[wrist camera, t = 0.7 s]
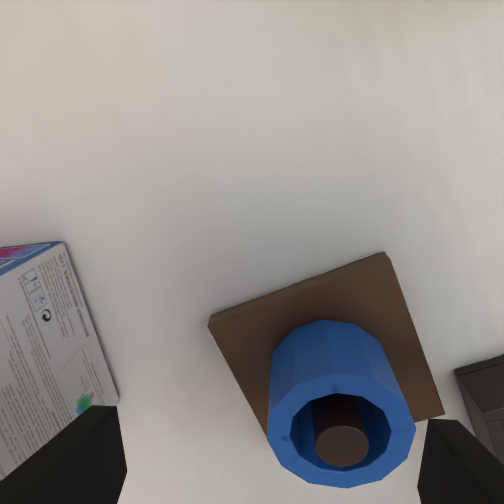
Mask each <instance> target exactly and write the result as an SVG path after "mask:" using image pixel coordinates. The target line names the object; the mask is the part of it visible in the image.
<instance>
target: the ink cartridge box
mask: <svg viewBox="0 0 504 504" xmlns="http://www.w3.org/2000/svg"><path fill="white" fill-rule="evenodd" d="M118 401H119V397H118V394H117V392H116V389H115V386H114V383H113V381H112V378H111V375H110V372H109V369H108V367H107V364H106V361H105V358H104V355H103V353H102V350H101V347H100V344H99V341H98V338H97V335H96V333H95V330H94V327H93V324H92V321H91V318H90V315H89V313H88V310H87V307H86V304H85V301H84V299H83V296H82V293H81V290H80V287H79V285H78V282H77V279H76V276H75V274H74V271H73V268H72V265H71V262H70V259H69V257H68V254H67V251H66V248H65V245H64V244H63V243H61V242H54V243H44V244H34V245H24V246H16V247H4V248H0V481H1V480H2V479H4V478H5V477H6V476H7V475H9V474H10V473H11V472H12V471H13V470H15V469H16V468H17V467H18V466H19V465H21V464H22V463H23V462H24V461H25V460H27V459H28V458H29V457H30V456H32V455H33V454H34V453H35V452H36V451H38V450H39V449H40V448H41V447H42V446H44V445H45V444H46V443H47V442H48V441H49V440H51V439H52V438H53V437H54V436H55V435H57V434H58V433H59V432H60V431H61V430H62V429H64V428H65V427H66V426H67V425H68V424H70V423H71V422H72V421H73V420H74V419H76V418H77V417H78V416H79V415H80V414H82V413H83V412H84V411H85V410H86V409H88V408H89V407H90V406H92V405H101V406H116V405H117V403H118Z"/></svg>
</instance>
